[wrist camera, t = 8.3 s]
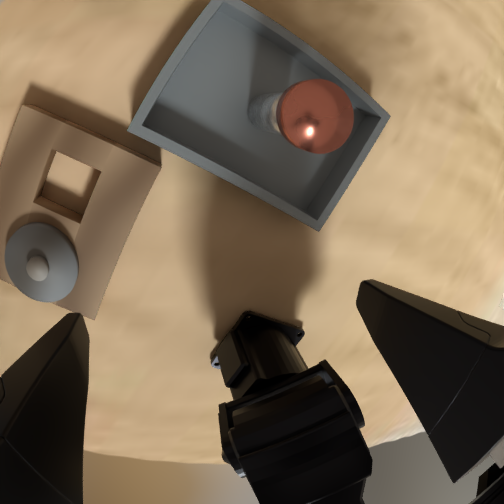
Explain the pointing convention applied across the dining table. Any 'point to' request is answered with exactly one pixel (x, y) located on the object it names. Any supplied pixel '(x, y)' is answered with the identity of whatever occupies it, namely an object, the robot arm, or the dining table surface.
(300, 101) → the lock pin
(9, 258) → the block
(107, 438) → the dining table surface
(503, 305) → the white rectangular block
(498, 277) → the dining table surface
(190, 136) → the tray
